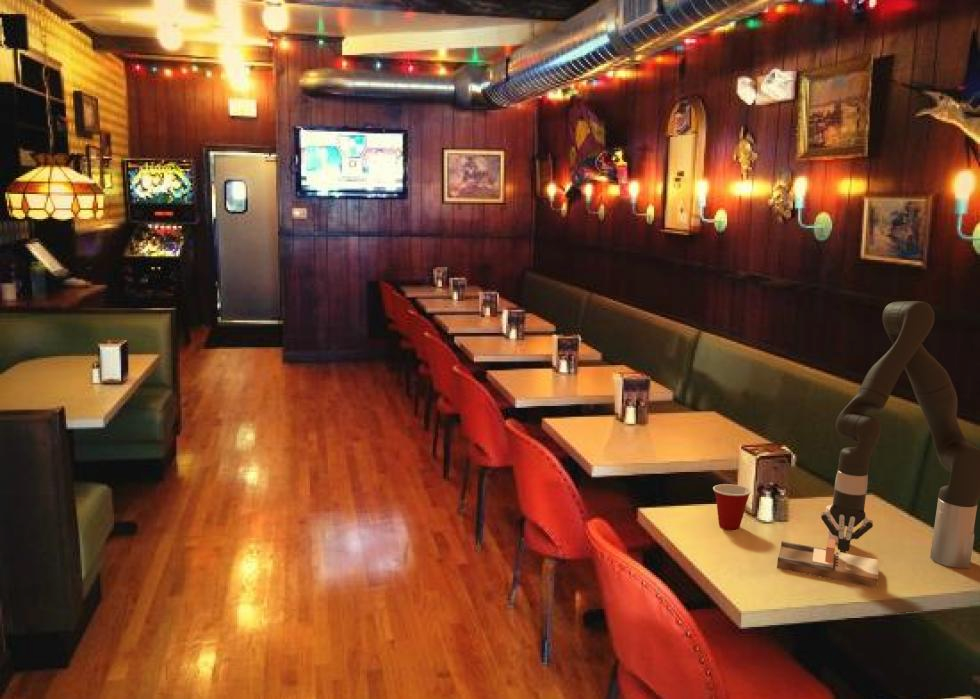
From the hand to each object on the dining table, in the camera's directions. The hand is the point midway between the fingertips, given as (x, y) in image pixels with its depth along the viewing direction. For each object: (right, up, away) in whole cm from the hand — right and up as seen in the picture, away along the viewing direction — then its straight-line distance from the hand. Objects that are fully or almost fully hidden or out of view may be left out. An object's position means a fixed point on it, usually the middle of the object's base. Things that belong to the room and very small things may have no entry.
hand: (842, 551), depth 216 cm
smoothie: (+7, -2, +21) cm, 22 cm away
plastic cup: (-22, 0, +29) cm, 36 cm away
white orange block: (-4, -3, +3) cm, 6 cm away
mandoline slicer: (-3, -5, +3) cm, 7 cm away
